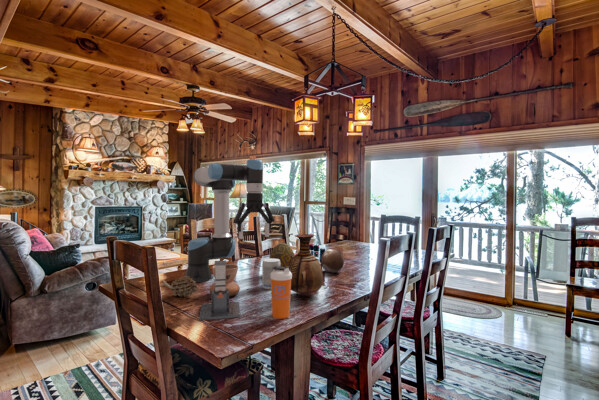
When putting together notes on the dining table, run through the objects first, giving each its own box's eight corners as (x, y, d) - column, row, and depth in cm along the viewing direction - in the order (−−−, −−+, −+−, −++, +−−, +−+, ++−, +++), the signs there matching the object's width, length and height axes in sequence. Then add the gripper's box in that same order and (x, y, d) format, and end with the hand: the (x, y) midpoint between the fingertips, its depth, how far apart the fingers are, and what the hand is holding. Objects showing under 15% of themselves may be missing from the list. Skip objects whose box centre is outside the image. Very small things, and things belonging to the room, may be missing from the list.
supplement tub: (283, 288, 172) (283, 260, 172) (267, 291, 167) (267, 262, 167) (274, 284, 181) (274, 257, 180) (259, 286, 175) (259, 259, 175)
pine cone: (202, 295, 159) (202, 275, 159) (188, 301, 150) (188, 280, 150) (167, 290, 167) (167, 270, 167) (152, 295, 158) (152, 275, 158)
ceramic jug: (231, 301, 150) (231, 271, 150) (202, 298, 154) (203, 268, 154) (245, 291, 168) (246, 263, 168) (219, 288, 171) (220, 261, 171)
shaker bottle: (269, 311, 138) (270, 264, 138) (291, 311, 139) (291, 264, 139) (269, 320, 129) (270, 269, 129) (292, 319, 130) (292, 269, 130)
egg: (263, 275, 200) (263, 242, 199) (284, 271, 210) (284, 240, 210) (280, 280, 187) (280, 245, 187) (301, 276, 198) (301, 243, 198)
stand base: (201, 306, 144) (201, 285, 144) (238, 304, 147) (238, 283, 147) (199, 320, 128) (199, 297, 128) (240, 317, 132) (240, 294, 132)
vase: (315, 305, 147) (316, 238, 146) (278, 300, 153) (279, 236, 153) (328, 291, 167) (328, 233, 166) (294, 287, 173) (295, 231, 173)
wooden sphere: (316, 272, 207) (316, 249, 206) (327, 268, 219) (328, 246, 219) (337, 276, 198) (337, 251, 198) (348, 271, 210) (348, 248, 210)
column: (214, 307, 140) (214, 260, 139) (226, 306, 141) (226, 260, 140) (214, 311, 135) (214, 263, 134) (226, 310, 136) (226, 262, 136)
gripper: (232, 192, 143) (232, 240, 144) (281, 192, 158) (281, 236, 158) (226, 192, 150) (226, 238, 150) (273, 192, 164) (273, 235, 164)
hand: (254, 237), depth 154 cm, fingers open, 13 cm apart
